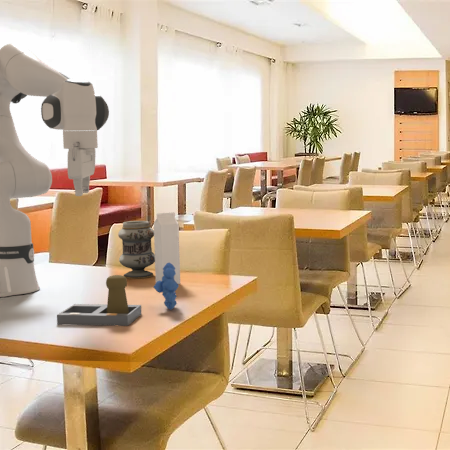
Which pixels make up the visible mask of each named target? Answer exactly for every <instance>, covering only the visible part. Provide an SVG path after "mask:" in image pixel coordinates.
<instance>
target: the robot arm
mask: <svg viewBox="0 0 450 450" xmlns="http://www.w3.org/2000/svg"><path fill="white" fill-rule="evenodd" d="M94 89H95V87H94V86H93V83H91V82H90V81H88V80H85V79H73V78H72V79H71V78H70V77H68V76H67V75H65V74H63V73H62V72H59V71H58V70H56V69H54V68H52V67H51V66H49V65H48V64H46V63H45V62H43V61H42V60H41V59H39V58H38V57H37V56H36V55H35V54H34V53H33V52H32V51H30V50H29V49H27V48H26V47H23V46H22V45H20V44H17V43H8V44H6V45H4V46H2V47H0V298H4V297H10V296H15V295H17V296H18V295H23V294H30V293H33V292H37V291H39V290H40V286H39V282H38V279H37V275H36V274H37V273H36V270H35V263H34V262H35V249H34V248H35V247H34V243H33V242H32V239H33V238H32V224H31V222H32V221H31V219H30V217H29V215H27V214H26V213H25V212H23V211H21V210H19V209H16V208H14V207H13V206H12V204H11V199H23V198H34V197H39V196H40V195H41V196H42V195H44V194H46V193H48V192H49V190H50V189H51V187H52V184H53V174H52V171H51V170H50V168H49V166H48V165H47V164H46V163H45V162H43V161H40V160H38V159H36V157H34V156H32V155H31V154H30V152H29V151H28V150H26V149H25V147H24V146H23V145H22V143H21V142H20V139H19V136H18V134H17V133H18V132H17V130H16V127H15V123H14V118H13V116H12V113H11V109H10V107H11V105H10V104H11V103H12V104H19V103H20V102H21V100H23V99H25V98H26V97H27V96H31V97H32V96H33V97H44V100H43V101H42V103H41V108H40V109H41V111H40V112H41V114H40V115H41V118H42V121H43V123H44V124H45V126H47V127H48V128H49V129H53V130H57V131H58V130H61V131H62V138H63V139H62V141H63V142H62V143H63V145H62V146H63V149H64V150H67V178H68V179H69V180H72V181H73V187H74V194H75V197H81V196H83V195H84V194H88V193H90V183H91V182H90V181H91V176H93V175H94V173H95V171H96V149H98V145H99V144H98V131H99V130H100V129H101V128H102V127H104V126H105V124H106V123H107V121H108V119H109V115H110V113H109V112H110V110H109V105H108V103H107V101H105V99H104V98H103V96H102V95H101V94H98V93H95V90H94Z"/></svg>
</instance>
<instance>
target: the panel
mask: <svg viewBox="0 0 450 450" xmlns="http://www.w3.org/2000/svg"><path fill="white" fill-rule="evenodd" d="M128 309H129V314H117V313H108V314H107V304H99V303H97V304H96V303H94V304H93V303H92V304H91V303H88V304H87V303H84V304H83V303H74V304H72V305H70V306H69V307H67V308H66V309H64V310H62V311H60V312H59V313H57V314H56V324H57V325H62V324H77V325H76V326H80V325H81V326H115V325H118V326H119V327H120V326H121V327H122V326H123V327H125V326H126V327H128V326H129V325H131V324H132V323H133V322H134V321H135V320H137V319H138V318H139V317H141V315H142V313H143V312H142V304H128Z"/></svg>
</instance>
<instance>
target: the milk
mask: <svg viewBox="0 0 450 450" xmlns="http://www.w3.org/2000/svg"><path fill="white" fill-rule="evenodd" d="M179 225H180V224H179V222H178V220H177V218H176V214H175V212H163V213H156V219H155V221H154V222H153V230H154V236H153V239H154V240H153V241H154V243H153V244H154V254H155V262H154V268H155V270H154V271H155V273H154V274H155V283H156V282H157V281H162V277H163V276H164V275H163V271H164V270H163V268H164V266H165V265H166V264H167V263H171V264H172V265H173V266H174V267H175V270H174V271H175V273H176V274H175V276H174V280H175V281H176V283H177V284H178V285H180V284H181V259H180V255H181V254H180V227H179Z"/></svg>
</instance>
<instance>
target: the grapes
mask: <svg viewBox="0 0 450 450" xmlns="http://www.w3.org/2000/svg"><path fill="white" fill-rule="evenodd" d="M163 270H164V271H163V275H164V276H163V277H162V281H157V282H156V281H155V284H154V286H153V289H154V290H155V291H156V292H157V293H159V294H160V293H162V294H161V295H162V296H163V298H164V299H165V300H164V301H163V305H164V306H165V307H166V308H167V309H168V310H173V309H174V308H175V307H176V306H177V304H178V303H177V300H176V299H177V295H176V294H177V293H176V291H177V290H178V288H179V286H180V284H177V283H176V281H175V280H174V276H175V274H176V273H175V271H174V270H175V267H174V266H173V265H172V264H171V263H167V264H166V265H165V266H164V268H163Z"/></svg>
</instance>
